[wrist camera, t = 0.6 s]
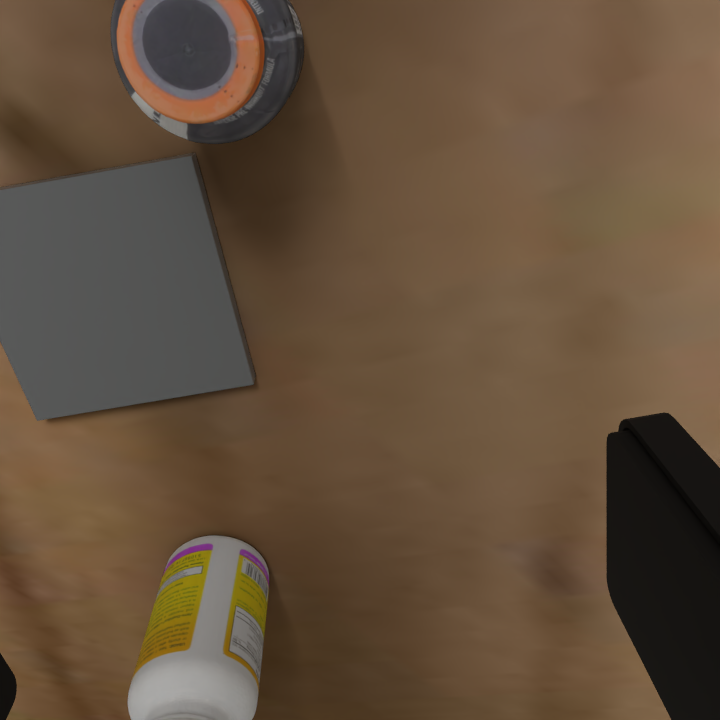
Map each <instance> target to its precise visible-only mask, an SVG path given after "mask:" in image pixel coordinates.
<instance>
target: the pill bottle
mask: <svg viewBox="0 0 720 720" xmlns="http://www.w3.org/2000/svg"><path fill="white" fill-rule="evenodd" d="M111 45H112V50H113V55H114V60H115V64H116V67H117V70H118V73H119V75H120V78H121V80H122V82H123V84H124V86H125V88H126V90H127V91H128V93H129V95H130V96H131V98H132V99H133V100H134V101H135V103H136V104H137V105H138V106H139V107H140V109H141V110H142V111H143V112H144V113H145V114H146V115H147V116H148V117H149V118H151V119H152V120H153V121H154V122H155V123H157V124H158V125H159V126H161V127H162V128H164V129H165V130H167V131H169V132H171V133H173V134H175V135H177V136H179V137H182V138H185V139H187V140H189V141H193V142H199V143H208V144H221V143H229V142H234V141H238V140H241V139H243V138H246V137H248V136H250V135H252V134H254V133H256V132H257V131H259V130H260V129H262V128H263V127H264V126H266V125H267V124H268V123H269V122H270V121H271V120H272V119H273V118H274V117H275V116H276V115H277V114H278V112H279V111H280V110H281V108H282V107H283V106H284V104H285V103H286V101H287V99H288V98H289V97H290V95H291V94H292V92H293V90H294V88H295V85H296V83H297V81H298V78H299V75H300V72H301V69H302V64H303V58H304V40H303V34H302V29H301V25H300V22H299V19H298V16H297V14H296V12H295V10H294V8H293V6H292V4H291V3H290V1H289V0H115V3H114V8H113V12H112V18H111Z"/></svg>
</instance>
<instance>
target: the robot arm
mask: <svg viewBox="0 0 720 720" xmlns="http://www.w3.org/2000/svg"><path fill="white" fill-rule="evenodd" d="M607 584H608V589H609V593H610V596H611V599H612V602H613V604H614V607H615V609H616V611H617V613H618V615H619V617H620V619H621V621H622V623H623V625H624V626H625V628H626V630H627V632H628V634H629V636H630V638H631V640H632V642H633V644H634V646H635V648H636V650H637V652H638V654H639V656H640V658H641V660H642V662H643V664H644V666H645V668H646V670H647V672H648V674H649V676H650V678H651V680H652V682H653V684H654V686H655V688H656V690H657V692H658V694H659V696H660V698H661V700H662V702H663V704H664V706H665V708H666V710H667V712H668V714H669V716H670V718H671V720H720V468H719V467H718V466H717V464H716V463H715V462H714V461H713V460H712V459H711V458H710V457H709V456H708V455H707V454H706V452H705V451H704V450H703V449H702V448H701V447H700V446H699V445H698V444H697V443H696V441H695V440H694V439H693V438H692V437H691V436H690V435H689V434H688V433H687V432H686V431H685V429H684V428H683V427H682V426H681V425H680V424H679V423H678V422H677V421H676V420H675V418H674V417H672V416H671V415H670V414H669V413H659V414H653V415H647V416H642V417H636V418H630V419H624V420H623V421H621V423H620V425H619V431H618V432H614V433H610V434H608V437H607ZM16 687H17V684H16V679H15V676H14V674H13V672H12V671H11V669H10V668H9V666H8V664H7V663H6V661H5V660H4V658H3V657H2V655H1V654H0V720H6V718H7V716H8V714H9V712H10V710H11V708H12V706H13V703H14V700H15V697H16Z"/></svg>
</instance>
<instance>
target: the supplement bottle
mask: <svg viewBox="0 0 720 720" xmlns="http://www.w3.org/2000/svg"><path fill="white" fill-rule="evenodd" d="M268 593H269V572H268V568H267V565H266V563H265V560H264V559H263V557H262V556H261V555H260V554H259V552H258V551H257V550H255V549H254V548H253V547H252V546H250V545H249V544H247V543H245V542H243V541H241V540H238V539H235V538H232V537H227V536H218V535H211V536H203V537H199V538H196V539H193V540H191V541H188V542H186V543H185V544H183V545H182V546H180V547H179V548H178V549H177V550H176V551H175V552H174V553H173V554H172V556H171V557H170V558H169V560H168V562H167V565H166V567H165V571H164V574H163V577H162V580H161V583H160V587H159V590H158V593H157V597H156V600H155V603H154V607H153V610H152V614H151V617H150V621H149V624H148V627H147V631H146V634H145V638H144V641H143V644H142V648H141V651H140V655H139V658H138V661H137V665H136V668H135V671H134V675H133V678H132V681H131V686H130V689H129V694H128V710H129V714H130V717H131V720H252V719H253V717H254V714H255V711H256V708H257V701H258V693H259V683H260V673H261V662H262V652H263V643H264V633H265V623H266V613H267V603H268Z"/></svg>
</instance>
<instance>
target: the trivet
mask: <svg viewBox="0 0 720 720" xmlns="http://www.w3.org/2000/svg"><path fill="white" fill-rule="evenodd" d="M0 342H1V344H2V346H3V348H4V350H5V353H6V355H7V357H8V359H9V361H10V363H11V365H12V368H13V370H14V372H15V374H16V376H17V378H18V381H19V383H20V385H21V387H22V389H23V391H24V393H25V396H26V398H27V400H28V402H29V404H30V406H31V408H32V411H33V413H34V415H35V417H36V419H37V421H38V420H44V419H50V418H56V417H62V416H68V415H74V414H80V413H86V412H92V411H98V410H104V409H110V408H116V407H122V406H128V405H134V404H140V403H146V402H152V401H158V400H164V399H170V398H176V397H182V396H188V395H194V394H200V393H206V392H212V391H218V390H224V389H230V388H236V387H242V386H248V385H254V381H255V377H256V375H255V371H254V368H253V364H252V360H251V357H250V353H249V349H248V346H247V342H246V338H245V334H244V331H243V327H242V323H241V320H240V316H239V312H238V309H237V305H236V301H235V297H234V294H233V290H232V286H231V283H230V279H229V275H228V272H227V268H226V264H225V261H224V257H223V253H222V249H221V246H220V242H219V238H218V235H217V231H216V227H215V224H214V220H213V216H212V213H211V209H210V205H209V201H208V198H207V194H206V190H205V187H204V183H203V179H202V176H201V172H200V168H199V165H198V161H197V157H196V153H190V154H184V155H179V156H173V157H167V158H162V159H156V160H151V161H145V162H139V163H134V164H128V165H123V166H117V167H112V168H106V169H100V170H95V171H89V172H84V173H78V174H73V175H67V176H61V177H56V178H50V179H45V180H39V181H33V182H28V183H22V184H17V185H11V186H6V187H0Z"/></svg>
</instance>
